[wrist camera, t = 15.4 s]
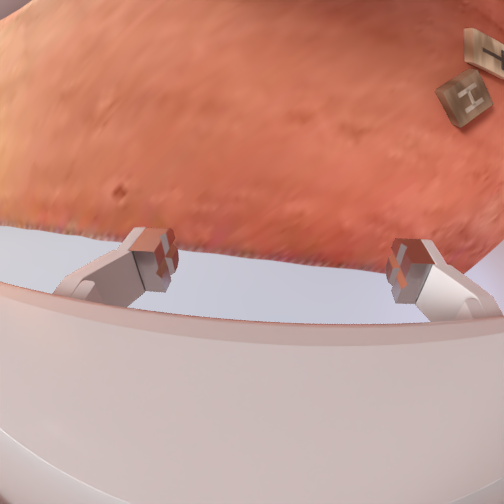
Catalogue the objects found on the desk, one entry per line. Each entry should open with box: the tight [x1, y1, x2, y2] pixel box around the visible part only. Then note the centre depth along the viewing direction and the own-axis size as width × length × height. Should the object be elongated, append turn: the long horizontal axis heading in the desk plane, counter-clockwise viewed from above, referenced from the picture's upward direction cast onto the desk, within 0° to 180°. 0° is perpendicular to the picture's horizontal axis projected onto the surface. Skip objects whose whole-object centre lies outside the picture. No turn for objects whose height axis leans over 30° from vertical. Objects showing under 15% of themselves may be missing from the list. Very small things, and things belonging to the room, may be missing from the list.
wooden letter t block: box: [464, 28, 504, 79], centre depth 21 cm, size 6×3×8 cm
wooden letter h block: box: [435, 68, 493, 128], centre depth 27 cm, size 6×3×8 cm
